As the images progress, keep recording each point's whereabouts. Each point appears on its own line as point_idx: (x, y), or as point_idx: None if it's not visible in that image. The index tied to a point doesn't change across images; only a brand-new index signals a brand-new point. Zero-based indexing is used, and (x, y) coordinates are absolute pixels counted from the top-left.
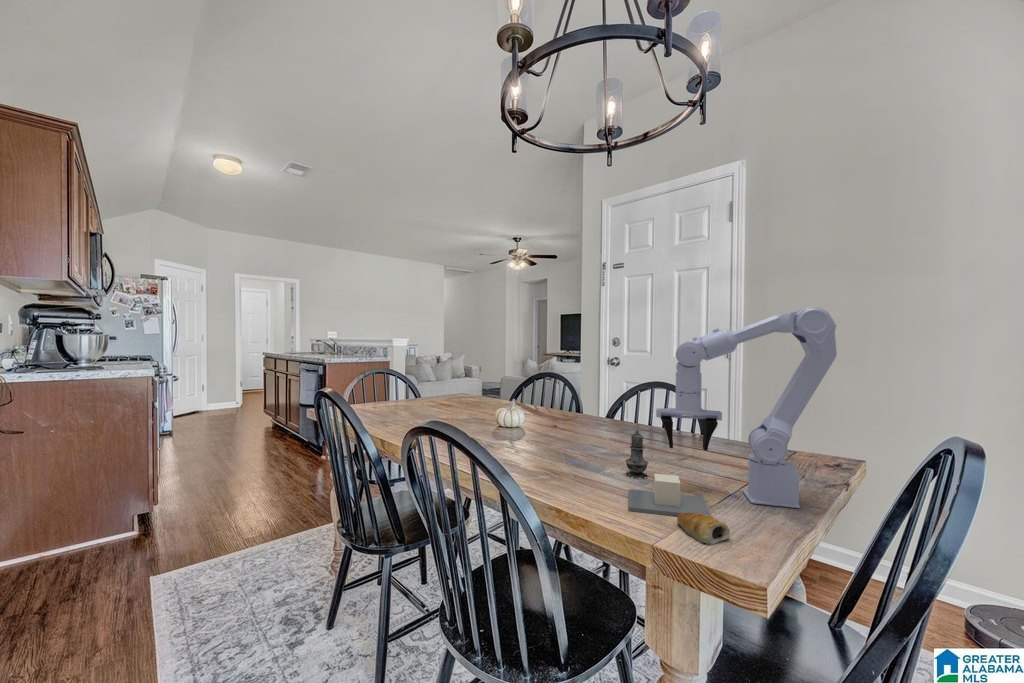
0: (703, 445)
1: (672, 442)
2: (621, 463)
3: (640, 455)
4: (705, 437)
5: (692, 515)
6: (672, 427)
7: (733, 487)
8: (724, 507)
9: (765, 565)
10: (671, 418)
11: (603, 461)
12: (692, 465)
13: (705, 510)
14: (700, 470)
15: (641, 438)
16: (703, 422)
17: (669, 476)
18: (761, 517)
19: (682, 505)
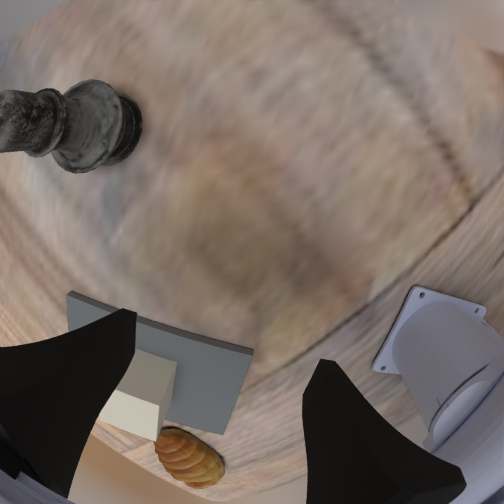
0: (315, 388)
1: (117, 379)
2: (105, 11)
3: (67, 147)
4: (312, 457)
5: (170, 467)
6: (76, 462)
7: (410, 247)
8: (288, 385)
9: (239, 492)
10: (34, 470)
11: (62, 13)
12: (374, 8)
13: (222, 417)
14: (385, 61)
15: (12, 142)
16: (367, 496)
17: (133, 405)
18: None
19: (178, 396)
